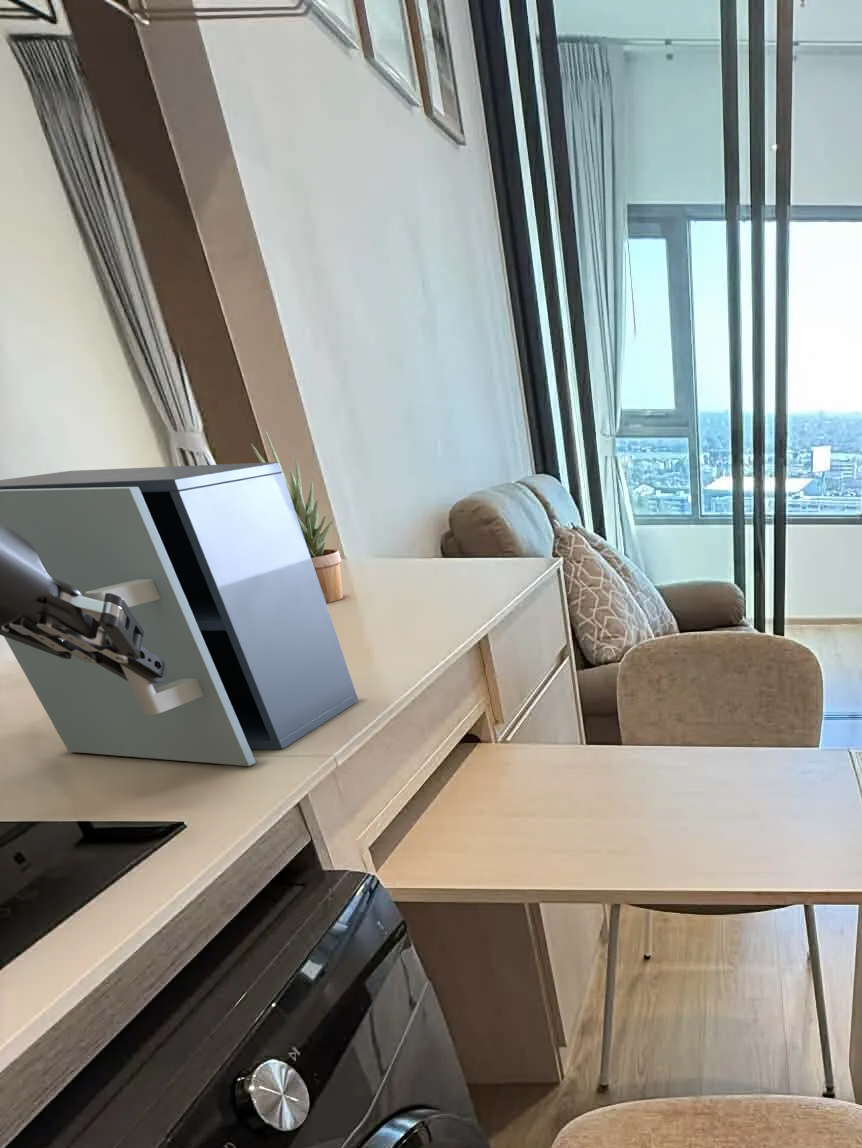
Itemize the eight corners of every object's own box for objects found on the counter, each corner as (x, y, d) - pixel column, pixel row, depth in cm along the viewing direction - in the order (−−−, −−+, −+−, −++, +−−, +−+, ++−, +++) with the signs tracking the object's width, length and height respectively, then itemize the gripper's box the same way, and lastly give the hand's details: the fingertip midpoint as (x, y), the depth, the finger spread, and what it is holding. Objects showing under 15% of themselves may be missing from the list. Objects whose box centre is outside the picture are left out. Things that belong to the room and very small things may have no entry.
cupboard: (282, 749, 88) (173, 479, 73) (78, 749, 90) (-66, 488, 76) (358, 701, 100) (279, 461, 85) (177, 702, 103) (70, 470, 88)
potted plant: (286, 602, 150) (226, 433, 134) (336, 592, 155) (284, 428, 140) (312, 608, 144) (253, 433, 129) (364, 597, 150) (312, 428, 135)
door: (203, 789, 79) (64, 497, 65) (16, 772, 85) (-149, 500, 71) (256, 762, 84) (138, 486, 70) (76, 748, 90) (-67, 490, 76)
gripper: (-157, 593, 59) (79, 712, 76) (3, 590, 57) (210, 714, 74) (-135, 495, 60) (94, 635, 77) (24, 489, 58) (224, 634, 75)
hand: (150, 673), depth 76 cm, fingers closed on door
